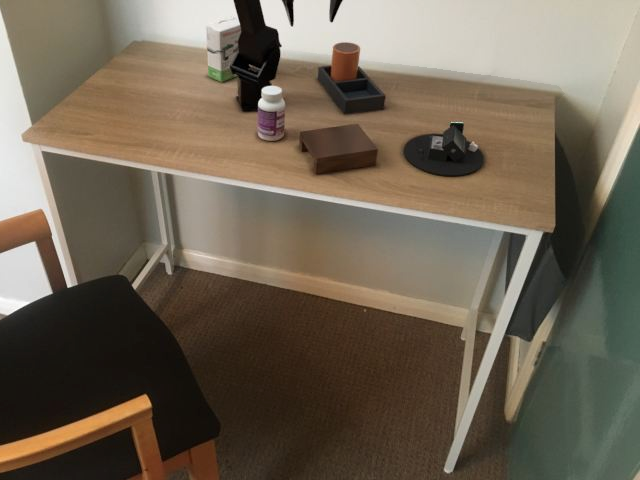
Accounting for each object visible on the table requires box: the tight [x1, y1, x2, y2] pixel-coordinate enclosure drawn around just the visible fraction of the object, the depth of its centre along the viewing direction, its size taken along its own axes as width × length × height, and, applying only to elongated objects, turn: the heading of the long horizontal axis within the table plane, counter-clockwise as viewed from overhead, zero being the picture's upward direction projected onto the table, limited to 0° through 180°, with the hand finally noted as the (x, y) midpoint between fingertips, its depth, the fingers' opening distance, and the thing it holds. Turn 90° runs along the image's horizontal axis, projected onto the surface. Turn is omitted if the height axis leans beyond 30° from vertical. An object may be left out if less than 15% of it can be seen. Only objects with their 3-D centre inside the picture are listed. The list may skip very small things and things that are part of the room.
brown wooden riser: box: [298, 123, 379, 175], centre depth 116 cm, size 12×10×4 cm
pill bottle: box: [257, 85, 286, 142], centre depth 120 cm, size 5×5×10 cm
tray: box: [317, 64, 386, 115], centre depth 135 cm, size 9×17×3 cm, turn 15°
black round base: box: [403, 121, 484, 178], centre depth 116 cm, size 15×15×6 cm
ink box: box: [205, 16, 241, 83], centre depth 140 cm, size 9×5×12 cm, turn 134°
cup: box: [330, 41, 361, 82], centre depth 136 cm, size 6×6×8 cm
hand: (311, 23), depth 134 cm, fingers open, 9 cm apart
